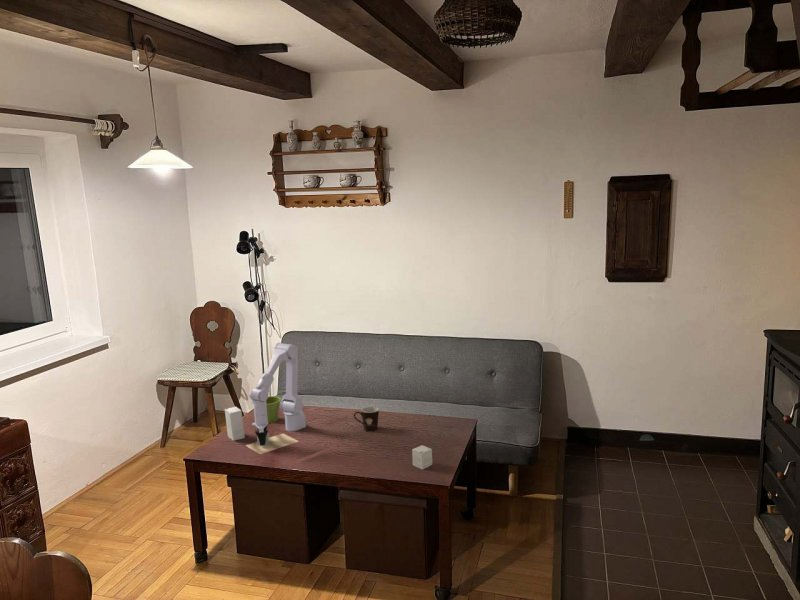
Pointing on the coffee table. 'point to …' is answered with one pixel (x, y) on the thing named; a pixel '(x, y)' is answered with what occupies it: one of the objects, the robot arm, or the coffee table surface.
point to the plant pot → (272, 408)
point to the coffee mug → (369, 418)
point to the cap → (266, 440)
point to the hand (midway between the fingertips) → (262, 441)
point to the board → (272, 443)
